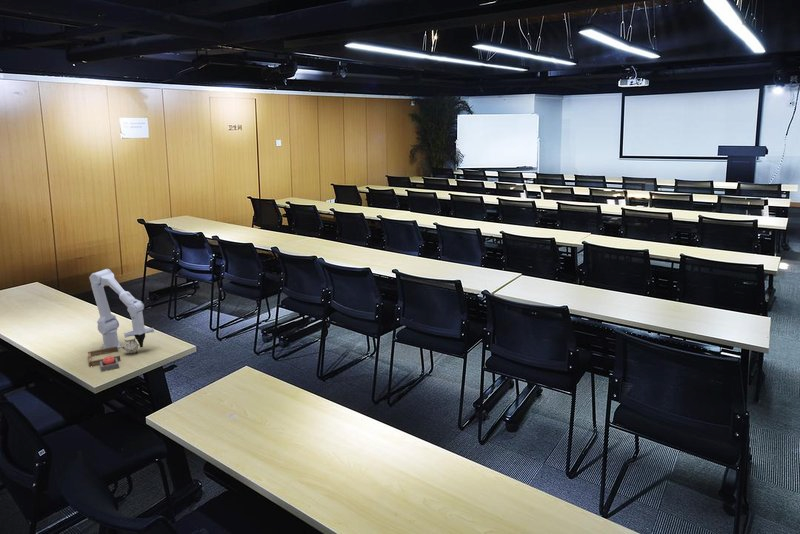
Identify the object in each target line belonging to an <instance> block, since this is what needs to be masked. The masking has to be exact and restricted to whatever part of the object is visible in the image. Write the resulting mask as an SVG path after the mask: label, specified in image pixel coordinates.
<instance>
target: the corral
mask: <svg viewBox="0 0 800 534" xmlns="http://www.w3.org/2000/svg"><path fill="white" fill-rule="evenodd" d="M118 351H119V348H118V347H117V346H116V347H111V348H105V349H104V348H101V349H96V350H91V351H87V356H88V364H89V367H90V368H91V366H92V367H97V366H100V361H103V359H104V358H100V359H96V360H95V359H94V360H92V357H96V356H101V355H106V354H111V353H115V352H116V353H117V352H118ZM105 353H106V354H105ZM100 354H101V355H100ZM95 355H96V356H95ZM113 357H114V358H117V360H118V362H121V361H122V359H121V355H116V356H113ZM96 365H97V366H96Z"/></svg>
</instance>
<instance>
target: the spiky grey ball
mask: <svg viewBox="0 0 800 534" xmlns="http://www.w3.org/2000/svg"><path fill="white" fill-rule="evenodd" d="M124 341H125V342H124V345H123V347H121V348H122V349H124V351H125V353H126V355H129V354H133V353H136V354H138V352H137V350H138V347H140V345H139V343H138V341H137V340H136V338H135V337H134V338H133V339H129V340H127V339H124Z"/></svg>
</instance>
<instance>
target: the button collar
mask: <svg viewBox="0 0 800 534" xmlns="http://www.w3.org/2000/svg"><path fill="white" fill-rule="evenodd" d="M114 361H115V363H114V364H110V365H105V366H104V363H103V361H100V365H99V367H100V370H101V371H102V372H107V371H111V369H112V370H115V369H119V368H120V365H119V361H118V360H117V358H114ZM106 370H107V371H106ZM101 371H100V372H101Z"/></svg>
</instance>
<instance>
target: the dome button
mask: <svg viewBox="0 0 800 534" xmlns="http://www.w3.org/2000/svg"><path fill="white" fill-rule="evenodd" d="M102 359H103V363H104V366H105V365H110V364H114V363H115V361H114V356H110V355H108V356H106V357H104V358H102Z"/></svg>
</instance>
